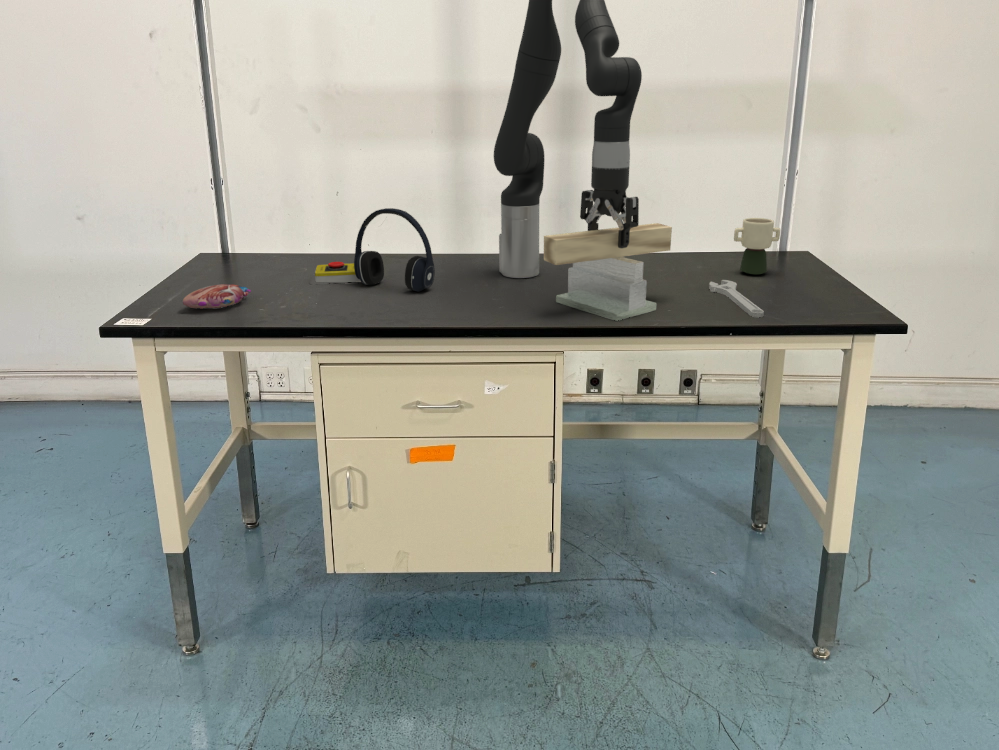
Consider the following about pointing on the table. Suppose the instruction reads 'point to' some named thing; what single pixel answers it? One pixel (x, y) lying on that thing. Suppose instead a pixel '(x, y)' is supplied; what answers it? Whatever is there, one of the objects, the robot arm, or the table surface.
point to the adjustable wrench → (736, 297)
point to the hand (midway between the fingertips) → (607, 244)
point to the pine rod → (605, 244)
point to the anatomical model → (216, 296)
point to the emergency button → (336, 272)
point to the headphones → (371, 262)
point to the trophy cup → (756, 243)
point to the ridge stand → (608, 288)
